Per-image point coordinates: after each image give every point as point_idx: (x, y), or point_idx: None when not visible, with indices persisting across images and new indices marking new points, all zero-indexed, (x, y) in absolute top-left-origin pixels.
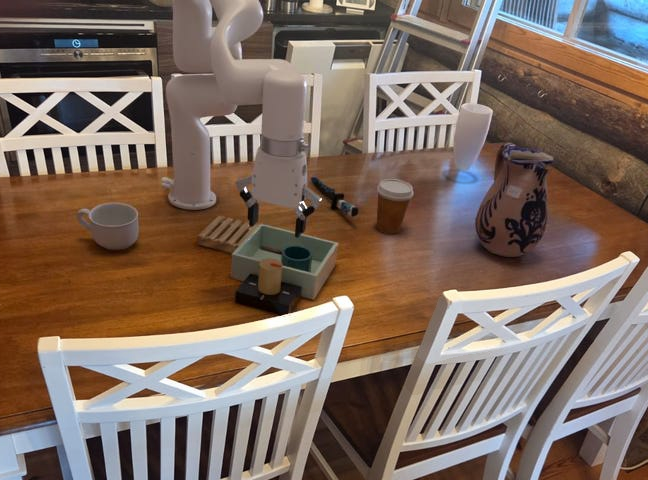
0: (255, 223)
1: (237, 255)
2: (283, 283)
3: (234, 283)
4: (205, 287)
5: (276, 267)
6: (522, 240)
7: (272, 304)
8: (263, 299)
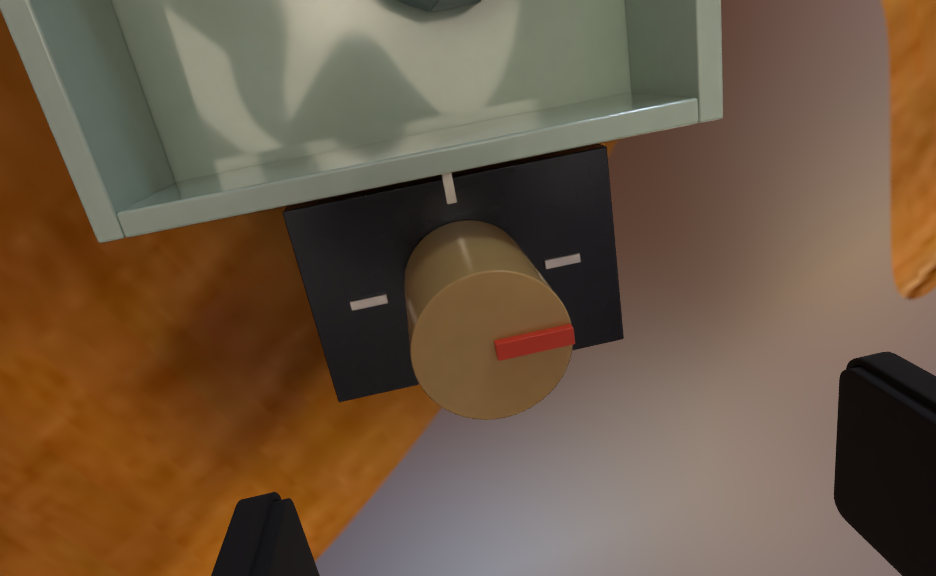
0: (313, 563)
1: (142, 232)
2: (502, 183)
3: (221, 234)
4: (138, 355)
5: (548, 360)
6: None
7: None
8: None
